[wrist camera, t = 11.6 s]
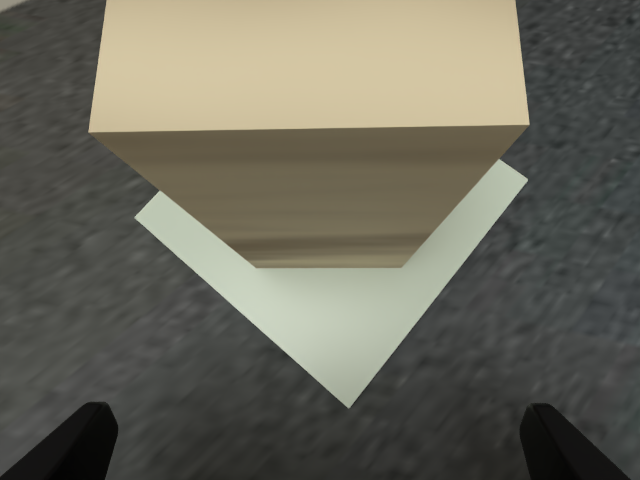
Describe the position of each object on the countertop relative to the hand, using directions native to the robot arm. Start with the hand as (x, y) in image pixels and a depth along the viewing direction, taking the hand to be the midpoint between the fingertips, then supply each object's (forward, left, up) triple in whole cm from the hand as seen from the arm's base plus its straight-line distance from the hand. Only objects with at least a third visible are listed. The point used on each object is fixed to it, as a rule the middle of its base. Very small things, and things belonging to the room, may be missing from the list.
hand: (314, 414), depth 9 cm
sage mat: (+5, -6, -8) cm, 11 cm away
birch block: (+5, -6, -8) cm, 11 cm away
